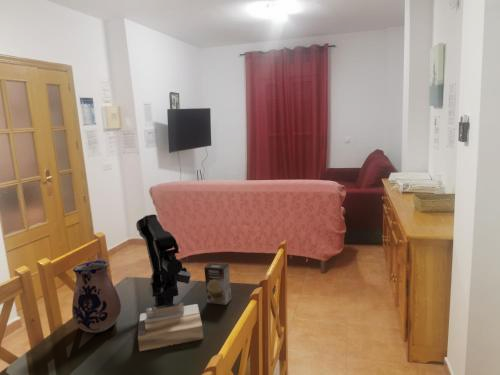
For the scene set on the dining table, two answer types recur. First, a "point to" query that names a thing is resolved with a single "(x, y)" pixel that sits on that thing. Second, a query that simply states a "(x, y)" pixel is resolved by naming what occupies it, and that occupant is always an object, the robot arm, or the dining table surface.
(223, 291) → the coffee box
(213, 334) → the dining table surface
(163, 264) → the robot arm
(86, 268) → the ceramic pitcher
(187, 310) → the jamb
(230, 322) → the dining table surface
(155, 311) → the bar
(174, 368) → the dining table surface
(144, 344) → the stepped wooden block
